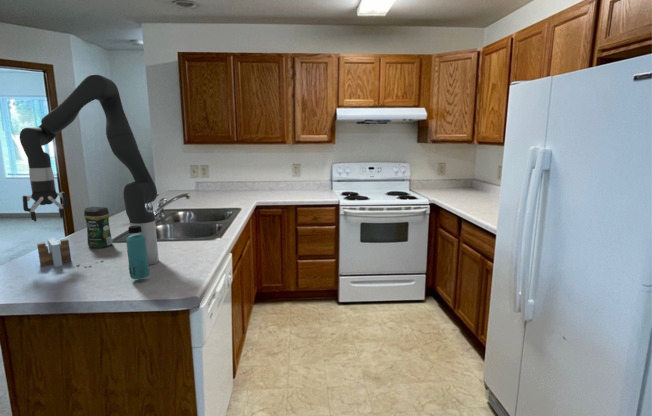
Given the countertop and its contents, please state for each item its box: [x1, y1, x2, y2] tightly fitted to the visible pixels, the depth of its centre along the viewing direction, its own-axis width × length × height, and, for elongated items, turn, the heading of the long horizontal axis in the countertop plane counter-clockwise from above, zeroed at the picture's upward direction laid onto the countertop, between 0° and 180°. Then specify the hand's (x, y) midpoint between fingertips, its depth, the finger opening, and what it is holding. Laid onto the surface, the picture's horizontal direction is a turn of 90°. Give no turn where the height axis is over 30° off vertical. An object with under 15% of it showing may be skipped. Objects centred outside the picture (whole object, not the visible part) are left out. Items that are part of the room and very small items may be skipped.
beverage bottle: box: [125, 225, 150, 280], centre depth 132 cm, size 6×7×20 cm
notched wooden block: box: [36, 238, 72, 267], centre depth 150 cm, size 2×10×9 cm, turn 133°
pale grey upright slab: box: [47, 237, 63, 268], centre depth 150 cm, size 2×12×9 cm, turn 43°
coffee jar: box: [83, 206, 113, 249], centre depth 172 cm, size 10×8×19 cm
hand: (48, 219), depth 150 cm, fingers open, 8 cm apart
